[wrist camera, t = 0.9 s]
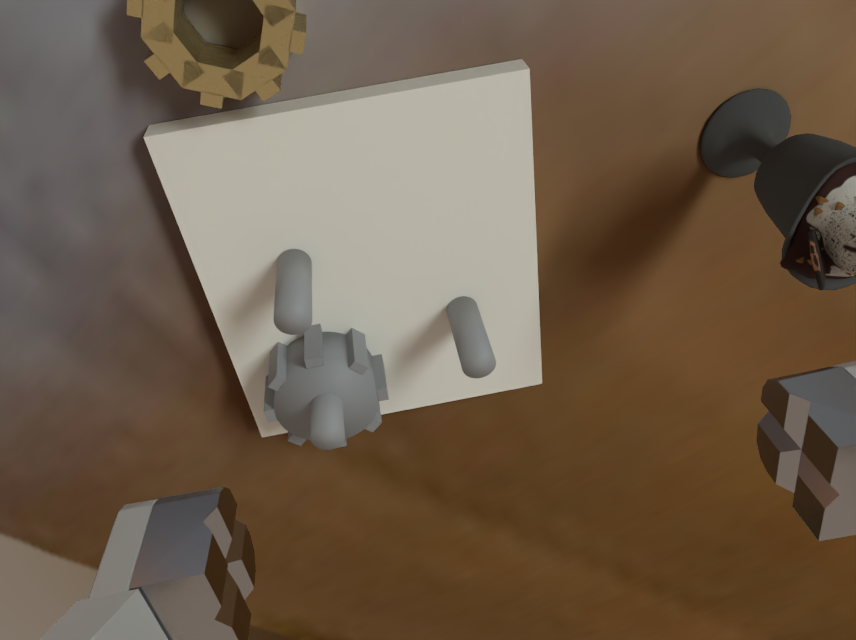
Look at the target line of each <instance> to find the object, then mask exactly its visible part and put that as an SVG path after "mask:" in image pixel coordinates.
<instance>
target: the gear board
mask: <svg viewBox="0 0 856 640" xmlns="http://www.w3.org/2000/svg"><path fill="white" fill-rule="evenodd" d="M143 138H144V140H145V143H146V145H147V148H148V150H149V153H150V155H151V158H152V160H153V163H154V166H155V168H156V171H157V173H158V176H159V178H160V181H161V183H162V186H163V188H164V191H165V193H166V196H167V198H168V201H169V203H170V206H171V209H172V211H173V214H174V216H175V219H176V221H177V224H178V226H179V229H180V231H181V234H182V236H183V239H184V241H185V244H186V246H187V249H188V252H189V254H190V257H191V259H192V262H193V264H194V267H195V269H196V272H197V274H198V277H199V279H200V282H201V284H202V287H203V289H204V292H205V295H206V297H207V300H208V302H209V305H210V307H211V310H212V312H213V315H214V317H215V320H216V322H217V325H218V327H219V330H220V332H221V335H222V338H223V340H224V343H225V345H226V348H227V350H228V353H229V355H230V358H231V360H232V363H233V365H234V368H235V370H236V373H237V375H238V378H239V381H240V383H241V386H242V388H243V391H244V393H245V396H246V398H247V401H248V403H249V406H250V408H251V411H252V413H253V416H254V418H255V421H256V424H257V426H258V429H259V431H260V434H261V436H262V437H267V436H273V435H278V434H283V433H288V435H287V441H289V442H292V443H294V444H297V445H299V446H301V445H302V444H303V443H304V442H305V441H306V440H309V441H311V442H312V444H313V445H314V446H315V447H317V448H319V449H323V450H330V449H334V448H338V447H343V446H347V440H346V438H349V437H351V436H354V435H356V434H357V433H359V432H361V431H362V430H363V429H366V430H369V431H371V432H373V431H374V430H375V429H376V428H377V427H378V426H379V425H380V424H381V423H382V421H381V415H382V414H387V413H392V412H397V411H402V410H408V409H413V408H418V407H423V406H428V405H434V404H439V403H444V402H449V401H454V400H460V399H465V398H470V397H475V396H480V395H486V394H491V393H496V392H501V391H506V390H512V389H517V388H522V387H527V386H532V385H538V384H542V364H541V340H540V315H539V290H538V265H537V240H536V215H535V191H534V166H533V141H532V116H531V91H530V69H529V67H528V66H527V65H526V64H525V62H524V61H523V60H522V59H519V60H514V61H508V62H502V63H497V64H491V65H485V66H480V67H474V68H468V69H463V70H457V71H451V72H446V73H440V74H435V75H429V76H423V77H418V78H412V79H406V80H401V81H395V82H389V83H384V84H378V85H372V86H367V87H361V88H355V89H350V90H344V91H338V92H333V93H327V94H321V95H316V96H310V97H304V98H299V99H293V100H287V101H282V102H276V103H270V104H265V105H259V106H254V107H248V108H242V109H237V110H231V111H225V112H220V113H214V114H208V115H203V116H197V117H191V118H186V119H180V120H174V121H169V122H163V123H157V124H152V125H149V126H148V128H147V130H146V133H145V135H144V137H143Z"/></svg>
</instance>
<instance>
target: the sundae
mask: <svg viewBox="0 0 856 640" xmlns="http://www.w3.org/2000/svg"><path fill="white" fill-rule="evenodd" d="M790 121H791V115H790V110H789V107H788V105H787V102H786V101H785V100H784V99H783V98H782V96H780V95H779V94H778V93H776V92H775V91H771V90H767V89H754V90H749V91H745V92H742V93H739V94H738V95H736V96H734V97H732V98H731V99H729V100H728V101H726V102H725V103H723V104H722V105H721V107H720V108H719V109H718V110H717V111H716V112H715V113H714V114H713V116H712V117H711V118H710V119H709V121H708V123H707V125H706V127H705V130H704V132H703V135H702V139H701V155H702V158H703V161H704V163H705V165H706V167H707V168H709V169H710V170H711V171H712V172H714V173H715V174H717V175H720V176H724V177H738V176H743V175H747V174H751V173H753V172H755V171H756V170H758V171H757V173H756V177H755V182H754V189H755V192H756V195H757V197H758V199H759V201H760V203H761V204H762V206H763V208H764V210H765V211H766V213H767V214H768V216H769V217H770V218H771V220H772V221H773V222H774V224H775V225H776V226H777V228H778V229H779V230H780V232H781V233H782V234H783V235H784V237H785V238H786V239H785V242H784V245H783V248H782V260H781V262H780V264H781V266H782V267H783V268H785V269H787V270H788V271H789V272H790V274H791V275H792V276H794V277H795V278H796V279H798V280H799V281H800V282H802V283H804V284H806V285H807V286H809V287H812V288H816V289H819V290H837V289H840V288H844V287H847V286H850V285H852V284H855V283H856V147H853V146H851V145H848V144H846V143H844V142H841V141H838V140H834V139H831V138H827V137H823V136H819V135H815V134H800V135H795V136H792V137H789V138H787V139H786V137H787V135H788V132H789V128H790ZM785 139H786V140H785Z"/></svg>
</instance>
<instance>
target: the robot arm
mask: <svg viewBox="0 0 856 640" xmlns="http://www.w3.org/2000/svg"><path fill="white" fill-rule="evenodd" d="M761 402H762V403H763V404H764V405H765V407H766V408H767V409H768V410H769V411H768V412H767V414H766V415H765V416H764V417H763V418H762V419H761V421H760V422H759V423H758V429H757V445H758V449H759V454H760V458H761V460H762V462H763V464H764V467H765V469H766V471H767V472H768V474H769V475H770V476H771V478H772V479H773V481H774V482H775V483H776V484H777V485H779V486H781V487H783V488H785V489H787V490H789V491H791V492H793V493H794V498H793V505H792V506H793V508H794V509H795V510H796V512H797V513H798V514H799V516H800V517H801V518H802V520H803V521H804V522H805V524H806V525H807V526H808V528H809V529H810V530H811V532H812V533H813V534H814V536H815V537H816V538H817V540H818V541H822V540H828V539H834V538H840V537H845V536H851V535H856V361H853V362H848V363H844V364H839V365H834V366H833V367H827V368H822V369H817V370H812V371H807V372H802V373H798V374H793V375H788V376H783V377H778V378H773V379H768V380H767V381H766V383H765V385H764V386H763V389H762V396H761ZM236 508H237V503H236V501H235V499H234V497H233V495H232V493H231V491H230V489H228V488H225V487H221V488H215V489H210V490H204V491H198V492H192V493H187V494H181V495H175V496H169V497H163V498H159V499H157V500H151V501H145V502H139V503H133V504H127V505H125V506H124V507H123V508H122V509H121V510H120V511H119V512H118V514H117V517H116V520H115V523H114V526H113V528H112V531H111V534H110V537H109V540H108V543H107V546H106V548H105V551H104V554H103V557H102V560H101V563H100V566H99V569H98V571H97V574H96V577H95V580H94V583H93V586H92V589H91V592H90V595H89V597H88V599H84V600H79V601H77V602H76V603H75V604H74V605H73V606H72V607H71V608H70V609H69V610H68V611H67V612H66V613H65V614H64V615H63V616H62V617H61V618H60V619H59V620H58V621H57V622H56V623H55V624H54V625H53V626H52V627H51V628H50V629H49V630H48V631H47V632H46V633H45V634H44V635H43V636H42V637H41V638H40V639H39V640H248V636H249V627H250V619H251V613H250V611H249V609H248V607H247V604H246V602H245V599H246V597H247V596H248V595H249V594H250V592H251V591H252V590H253V588H254V583H255V572H256V569H255V555H254V548H253V544H252V540H251V536H250V534H249V531H248V529H247V526H246V525H245V524H243V523H241V522H240V521H238V520H236V519H235V515H236Z"/></svg>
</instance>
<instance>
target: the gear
mask: <svg viewBox="0 0 856 640" xmlns="http://www.w3.org/2000/svg"><path fill="white" fill-rule="evenodd" d="M253 2H254V3H255V4H256V6H257V7H258V9H259V10H260V12H261V13H262V14H263V16H264V19H263V27H262V33H261V34H259V35H258V36H257V37H255V38H254V39H252V40H251V41H249V42H248V43H246V44H245V45H243V46H242V47H240V48H239V49H234V48H229V47H225V46H220V45H216V44H211V43H207V42H205V41H204V40H203V39H202V37H201V36H200V35H199V33H198V32H197V31H196V29H195V28H194V27H193V26H192V24H191V23H190V22H189V20H188V19H187V18H186V16H185V15H184V14H183V12H184V0H127V15H129V16H134V17H138V18H142V19H141V38H142V40H143V41H144V42H145V43H146V44H147V46H148V47H149V48H150V49H151V50H150V52H149V54H148V55H147V57H146V58H145V60H144V62H145V63H146V65H147V66H148V67H149V68H150V69H151V71H152V72H153V73H154V74H155V75H156V76H157V78H158V79H159V80H160V79H162V78H163V77H165V76H166V75H167V74H169V73H170V74H171V75H172V76H173V77H174V78H175V80H176V81H177V82H178V83H179V85H180V86H181V87H182V88H184V89H189V90H194V91H199V92H201V98H200V105H205V106H210V107H215V108H220V109H222V106H223V102H224V98H225V97H228V98H233V99H238V100H242V99H244V98H245V97H247V96H248V95H250V94H251V93H253V92H254V91H256V93H257V94H258V95H259V96H260V98H261V99H262V100H263V101H265V100H266V99H268V98H269V97H271V96H272V95H274V94H275V93H277V92H279V91H280V88H281V77H282V73H283V72H284V71H286V70H287V65H288V59H289V52H292V53H296V54H301V55H303V50H304V44H305V38H306V15H304V14H300V13H296V0H253Z"/></svg>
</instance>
